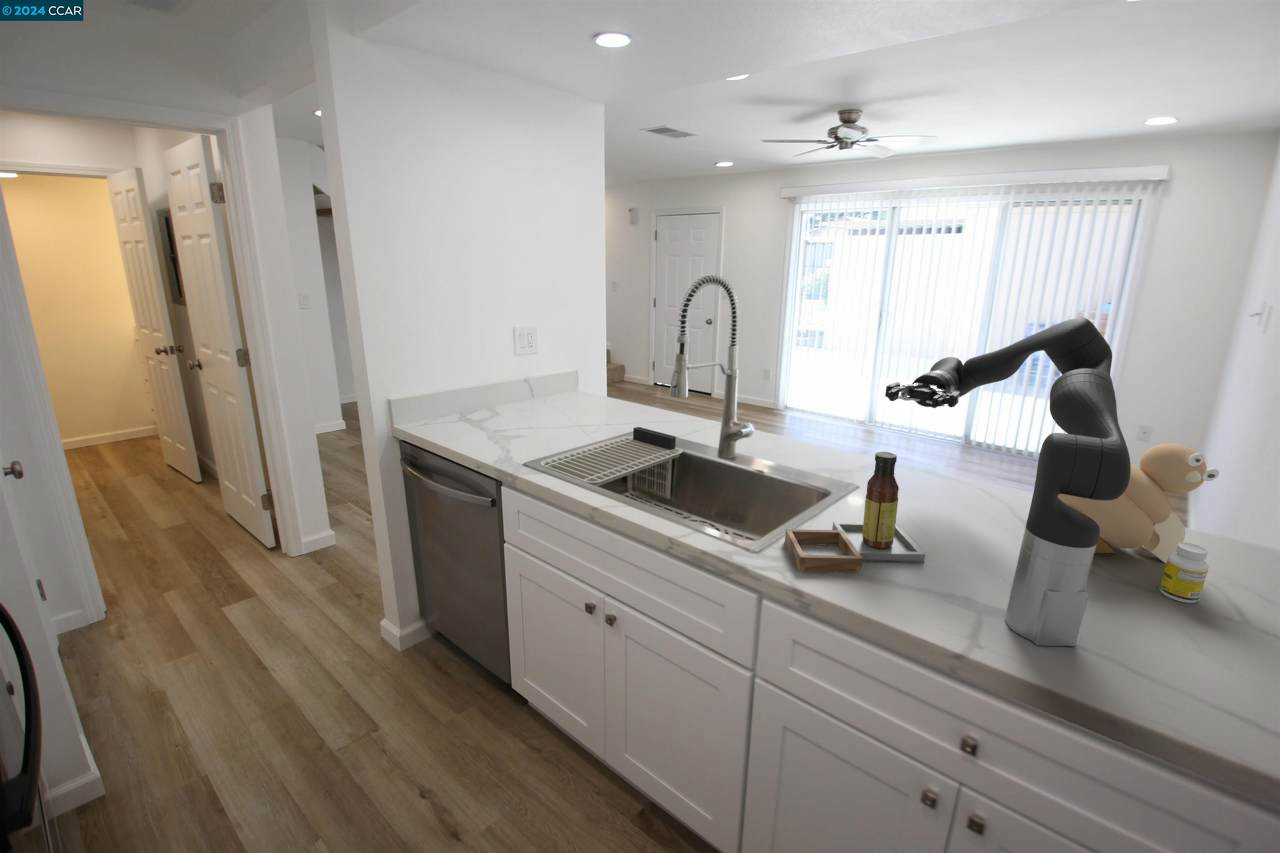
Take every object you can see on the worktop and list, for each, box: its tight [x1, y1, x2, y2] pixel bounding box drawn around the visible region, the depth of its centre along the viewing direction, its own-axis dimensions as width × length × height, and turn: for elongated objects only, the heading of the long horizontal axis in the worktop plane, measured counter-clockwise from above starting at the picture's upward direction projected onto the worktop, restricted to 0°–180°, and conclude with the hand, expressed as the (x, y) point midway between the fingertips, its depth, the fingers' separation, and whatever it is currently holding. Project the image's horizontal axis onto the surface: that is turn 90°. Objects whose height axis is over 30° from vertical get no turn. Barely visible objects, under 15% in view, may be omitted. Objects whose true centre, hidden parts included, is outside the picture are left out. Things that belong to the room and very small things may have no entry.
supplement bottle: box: [1158, 542, 1210, 604], centre depth 104 cm, size 5×5×10 cm
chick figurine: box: [1058, 442, 1220, 564], centre depth 120 cm, size 30×28×23 cm
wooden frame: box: [784, 528, 864, 573], centre depth 117 cm, size 12×12×3 cm
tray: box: [831, 521, 926, 564], centre depth 122 cm, size 14×14×2 cm
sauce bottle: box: [862, 451, 900, 549], centre depth 119 cm, size 6×6×20 cm
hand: (912, 399), depth 122 cm, fingers open, 8 cm apart
